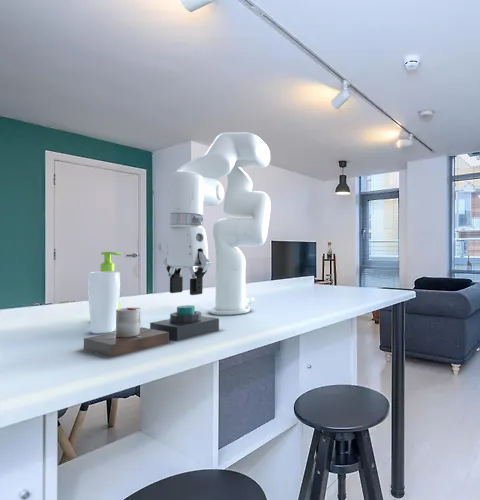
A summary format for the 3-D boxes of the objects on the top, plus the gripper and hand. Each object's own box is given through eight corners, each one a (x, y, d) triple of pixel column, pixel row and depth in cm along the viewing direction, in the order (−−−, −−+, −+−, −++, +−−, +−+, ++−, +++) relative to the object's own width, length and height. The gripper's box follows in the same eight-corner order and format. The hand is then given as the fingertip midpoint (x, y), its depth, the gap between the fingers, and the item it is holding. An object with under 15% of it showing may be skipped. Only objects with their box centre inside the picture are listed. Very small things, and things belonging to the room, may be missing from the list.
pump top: (187, 312, 89) (187, 304, 89) (198, 314, 88) (198, 306, 88) (173, 315, 86) (173, 307, 86) (184, 316, 84) (184, 308, 84)
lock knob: (111, 335, 73) (111, 308, 73) (131, 331, 77) (132, 305, 77) (124, 338, 71) (124, 310, 71) (144, 333, 75) (145, 307, 75)
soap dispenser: (109, 323, 97) (110, 252, 97) (89, 322, 98) (90, 251, 98) (127, 319, 103) (127, 251, 103) (107, 318, 104) (108, 251, 104)
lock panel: (141, 337, 82) (141, 326, 82) (169, 343, 77) (169, 331, 77) (83, 350, 71) (83, 337, 71) (111, 357, 67) (111, 344, 67)
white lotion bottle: (94, 336, 83) (95, 273, 83) (81, 332, 86) (82, 272, 86) (125, 330, 89) (125, 272, 89) (112, 327, 92) (112, 271, 92)
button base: (192, 326, 94) (192, 308, 94) (219, 330, 90) (219, 311, 90) (149, 335, 84) (150, 315, 84) (177, 341, 79) (177, 319, 79)
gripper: (223, 222, 86) (222, 294, 86) (177, 224, 94) (176, 290, 94) (197, 219, 79) (197, 297, 79) (150, 222, 87) (149, 292, 87)
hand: (186, 292), depth 87 cm, fingers open, 6 cm apart
